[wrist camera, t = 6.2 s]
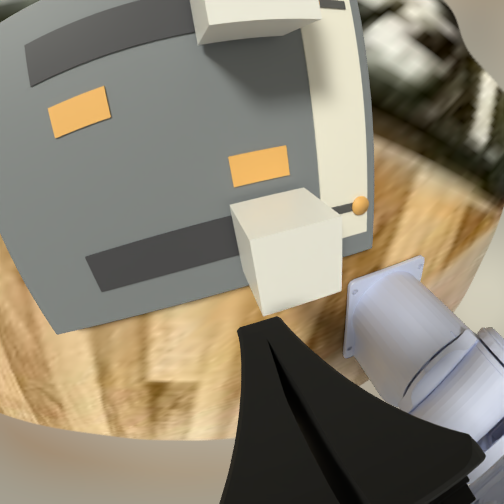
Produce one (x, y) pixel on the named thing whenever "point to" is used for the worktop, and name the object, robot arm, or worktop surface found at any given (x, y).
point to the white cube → (289, 248)
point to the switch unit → (167, 148)
